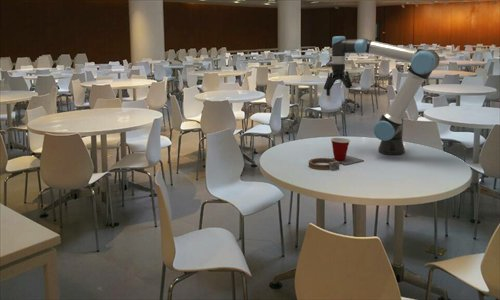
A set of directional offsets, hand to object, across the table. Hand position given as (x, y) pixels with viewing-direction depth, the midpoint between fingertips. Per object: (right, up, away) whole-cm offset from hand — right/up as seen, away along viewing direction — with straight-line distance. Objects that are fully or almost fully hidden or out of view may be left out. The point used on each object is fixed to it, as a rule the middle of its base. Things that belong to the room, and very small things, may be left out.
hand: (337, 100), depth 296 cm
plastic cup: (-1, -35, -13) cm, 38 cm away
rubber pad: (+2, -36, -12) cm, 38 cm away
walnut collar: (-11, -38, -22) cm, 46 cm away
